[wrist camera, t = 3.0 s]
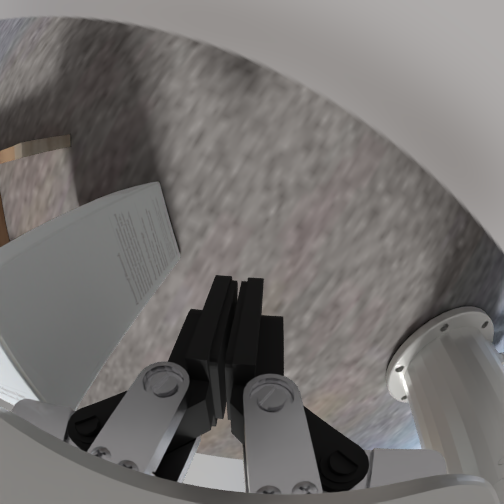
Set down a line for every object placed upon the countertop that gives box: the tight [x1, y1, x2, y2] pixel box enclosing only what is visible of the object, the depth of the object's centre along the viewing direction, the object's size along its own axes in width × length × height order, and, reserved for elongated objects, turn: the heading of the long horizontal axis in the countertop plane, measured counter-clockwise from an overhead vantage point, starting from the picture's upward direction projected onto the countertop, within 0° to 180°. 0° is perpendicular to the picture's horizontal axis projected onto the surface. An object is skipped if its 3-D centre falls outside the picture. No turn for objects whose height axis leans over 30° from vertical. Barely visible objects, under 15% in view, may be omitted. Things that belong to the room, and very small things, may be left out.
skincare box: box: [0, 182, 181, 411], centre depth 12 cm, size 8×6×15 cm
